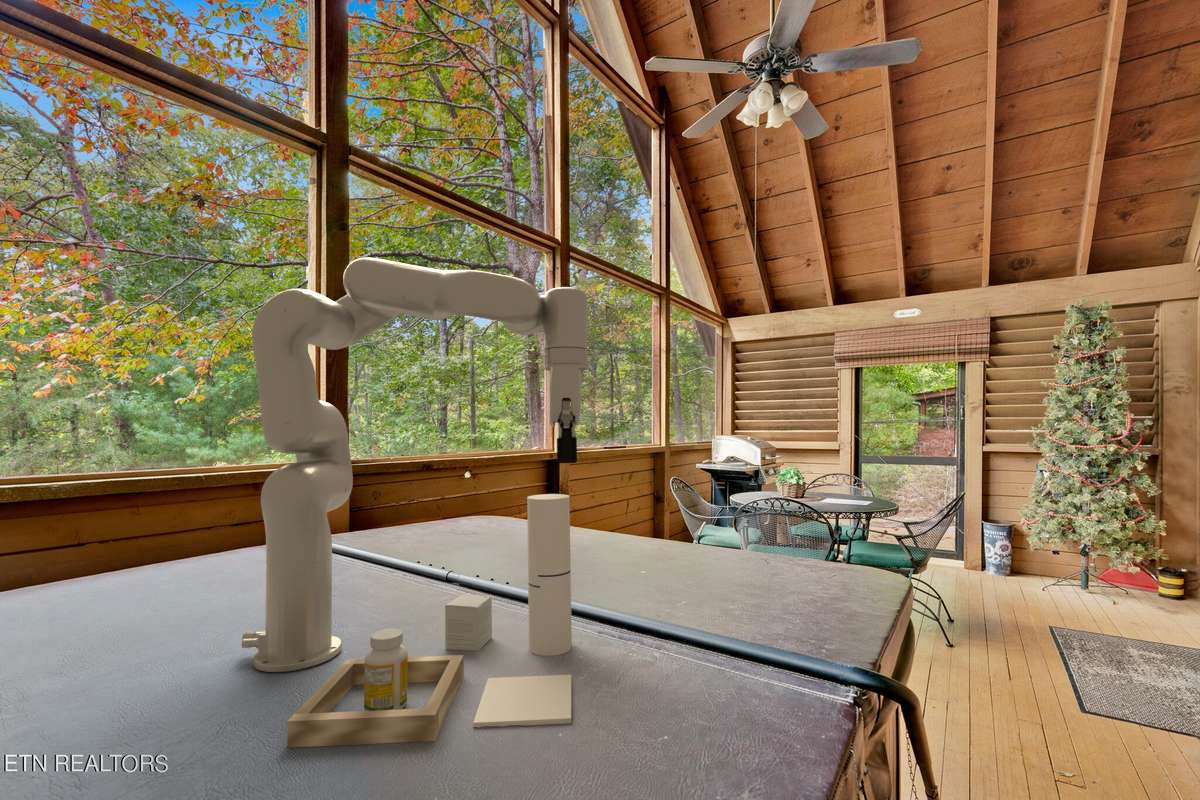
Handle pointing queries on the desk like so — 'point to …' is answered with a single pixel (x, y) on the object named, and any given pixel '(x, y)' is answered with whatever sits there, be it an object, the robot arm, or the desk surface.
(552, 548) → the cylindrical container
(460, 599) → the product box
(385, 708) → the supplement bottle
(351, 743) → the wooden square frame
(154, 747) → the desk surface
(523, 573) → the desk surface
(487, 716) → the pad
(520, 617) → the desk surface
